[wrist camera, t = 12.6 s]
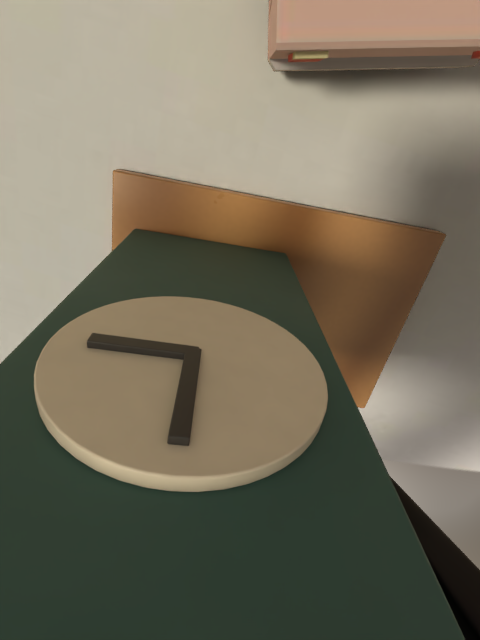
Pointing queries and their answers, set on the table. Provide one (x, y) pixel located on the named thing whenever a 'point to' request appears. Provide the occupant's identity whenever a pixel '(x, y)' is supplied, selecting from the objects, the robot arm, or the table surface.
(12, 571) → the clock
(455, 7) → the toy car
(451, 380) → the table surface
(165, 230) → the wooden board
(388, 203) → the table surface
